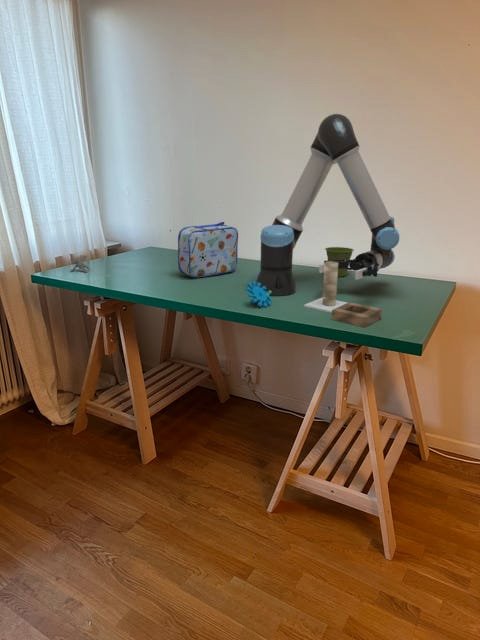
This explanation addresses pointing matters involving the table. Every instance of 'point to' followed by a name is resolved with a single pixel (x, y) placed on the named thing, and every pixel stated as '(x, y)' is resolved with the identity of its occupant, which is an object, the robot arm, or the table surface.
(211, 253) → the lunch box
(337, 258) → the plant pot
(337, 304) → the pad
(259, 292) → the gear
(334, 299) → the dowel
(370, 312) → the pocket block
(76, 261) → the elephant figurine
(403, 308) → the table surface
